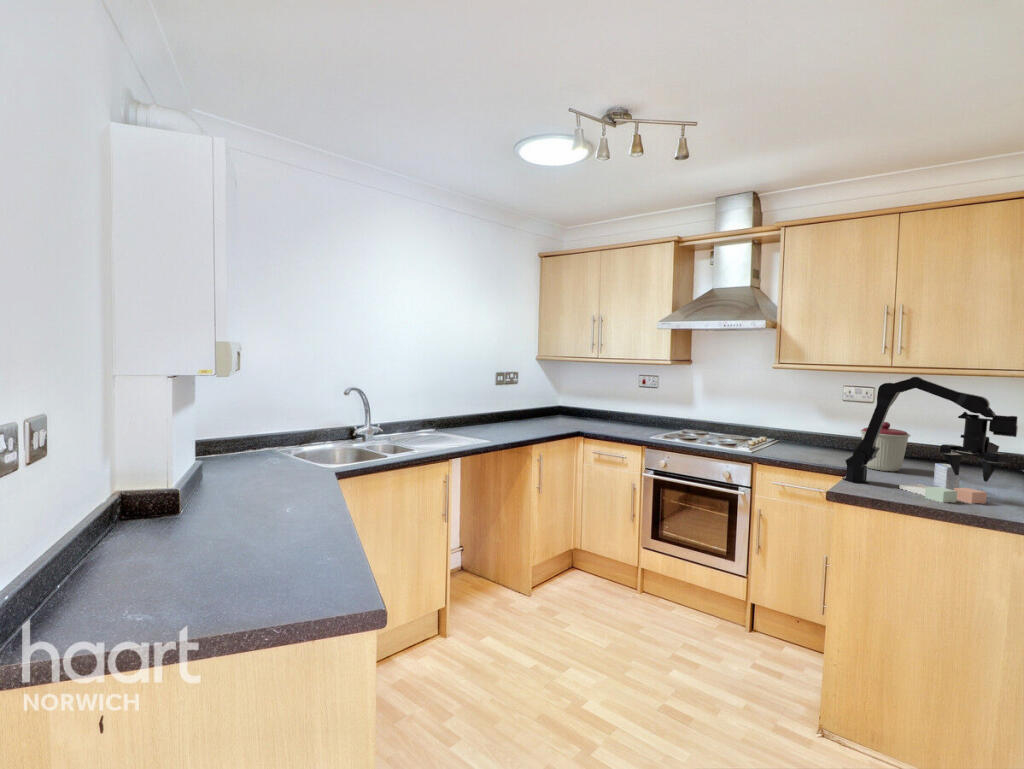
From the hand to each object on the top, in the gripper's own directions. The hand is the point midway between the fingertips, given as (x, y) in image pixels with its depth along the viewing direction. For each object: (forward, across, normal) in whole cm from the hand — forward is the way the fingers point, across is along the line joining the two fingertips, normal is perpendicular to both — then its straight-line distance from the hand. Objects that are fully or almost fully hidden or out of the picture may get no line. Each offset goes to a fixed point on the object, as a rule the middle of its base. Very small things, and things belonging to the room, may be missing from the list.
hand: (970, 478), depth 180 cm
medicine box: (+8, +17, -12) cm, 22 cm away
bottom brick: (+8, 0, 0) cm, 8 cm away
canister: (+8, +49, -18) cm, 53 cm away
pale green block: (+8, +2, +10) cm, 13 cm away
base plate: (+8, +12, +5) cm, 15 cm away
